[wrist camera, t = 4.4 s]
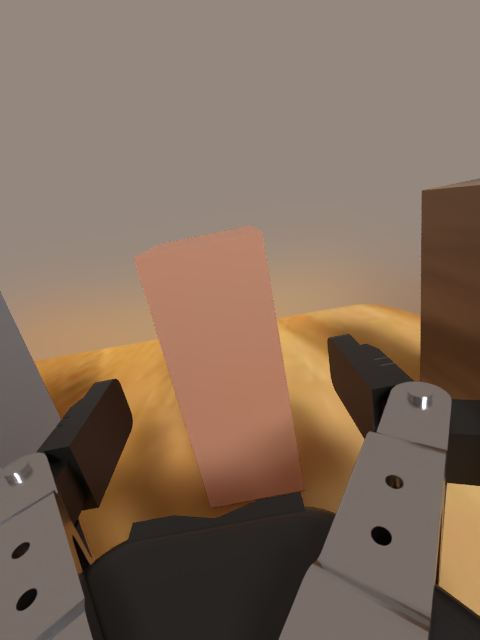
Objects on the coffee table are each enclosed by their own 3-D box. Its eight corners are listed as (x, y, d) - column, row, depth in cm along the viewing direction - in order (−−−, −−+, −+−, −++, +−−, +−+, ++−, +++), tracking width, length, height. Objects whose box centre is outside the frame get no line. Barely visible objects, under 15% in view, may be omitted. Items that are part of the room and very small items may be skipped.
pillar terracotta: (211, 507, 15) (133, 257, 11) (214, 441, 19) (159, 244, 15) (304, 490, 15) (262, 231, 11) (286, 427, 19) (251, 225, 15)
